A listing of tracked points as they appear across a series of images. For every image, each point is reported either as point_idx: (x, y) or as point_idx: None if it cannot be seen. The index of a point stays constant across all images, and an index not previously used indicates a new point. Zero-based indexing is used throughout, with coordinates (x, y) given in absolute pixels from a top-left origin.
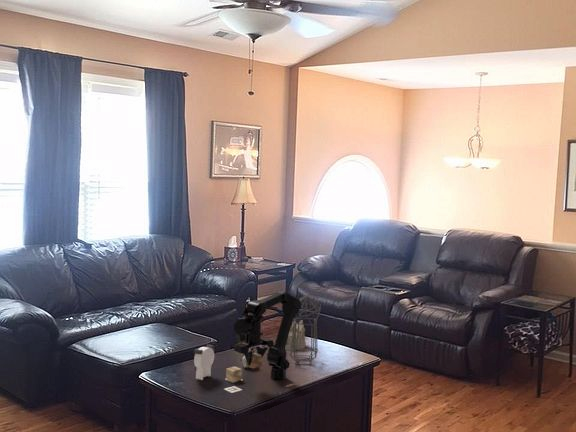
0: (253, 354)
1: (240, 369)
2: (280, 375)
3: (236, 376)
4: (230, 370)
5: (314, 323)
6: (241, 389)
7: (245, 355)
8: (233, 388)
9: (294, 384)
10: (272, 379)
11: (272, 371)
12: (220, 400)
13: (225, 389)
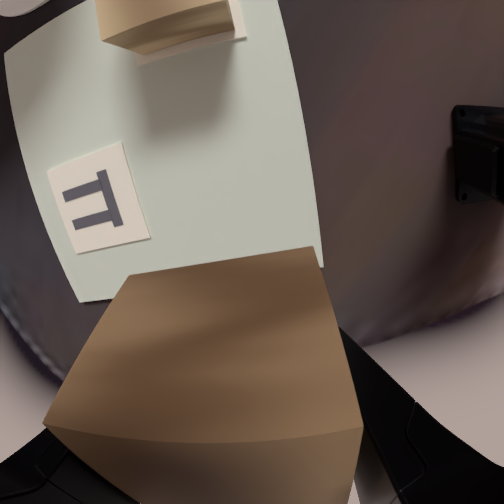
0: (225, 486)
1: (207, 4)
2: (501, 203)
3: (170, 35)
4: (96, 6)
5: None
6: (145, 230)
7: (36, 464)
8: (100, 190)
9: (491, 266)
10: (455, 156)
11: (491, 168)
12: (30, 289)
13: (54, 187)
